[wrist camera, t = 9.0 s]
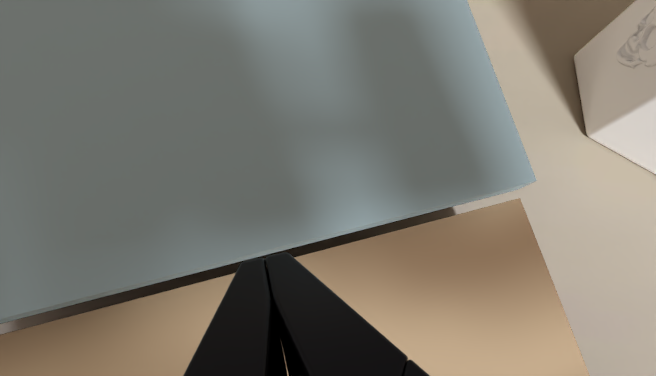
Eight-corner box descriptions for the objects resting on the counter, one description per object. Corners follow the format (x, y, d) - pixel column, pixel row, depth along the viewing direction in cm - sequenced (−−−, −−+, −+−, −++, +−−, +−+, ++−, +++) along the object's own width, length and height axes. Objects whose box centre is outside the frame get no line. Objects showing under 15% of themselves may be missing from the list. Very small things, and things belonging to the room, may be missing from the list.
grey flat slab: (536, 180, 14) (436, -78, 16) (-103, 345, 11) (-119, 3, 13) (505, 195, 15) (420, -37, 18) (-44, 337, 13) (-66, 42, 15)
